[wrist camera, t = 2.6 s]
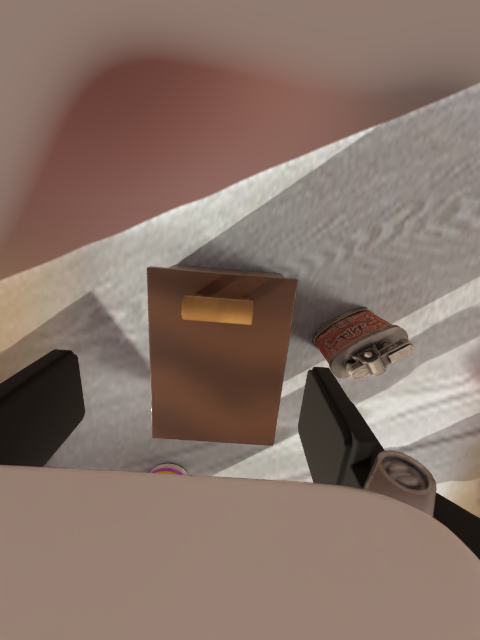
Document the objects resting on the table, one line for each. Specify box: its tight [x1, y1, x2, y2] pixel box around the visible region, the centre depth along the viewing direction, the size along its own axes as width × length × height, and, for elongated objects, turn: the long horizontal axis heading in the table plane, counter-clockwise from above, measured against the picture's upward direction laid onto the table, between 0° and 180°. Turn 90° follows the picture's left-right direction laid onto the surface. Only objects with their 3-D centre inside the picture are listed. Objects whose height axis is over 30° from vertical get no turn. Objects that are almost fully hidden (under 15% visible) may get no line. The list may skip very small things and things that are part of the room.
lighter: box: [313, 307, 415, 381], centre depth 29 cm, size 8×3×10 cm, turn 123°
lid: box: [147, 267, 298, 446], centre depth 23 cm, size 17×13×5 cm
